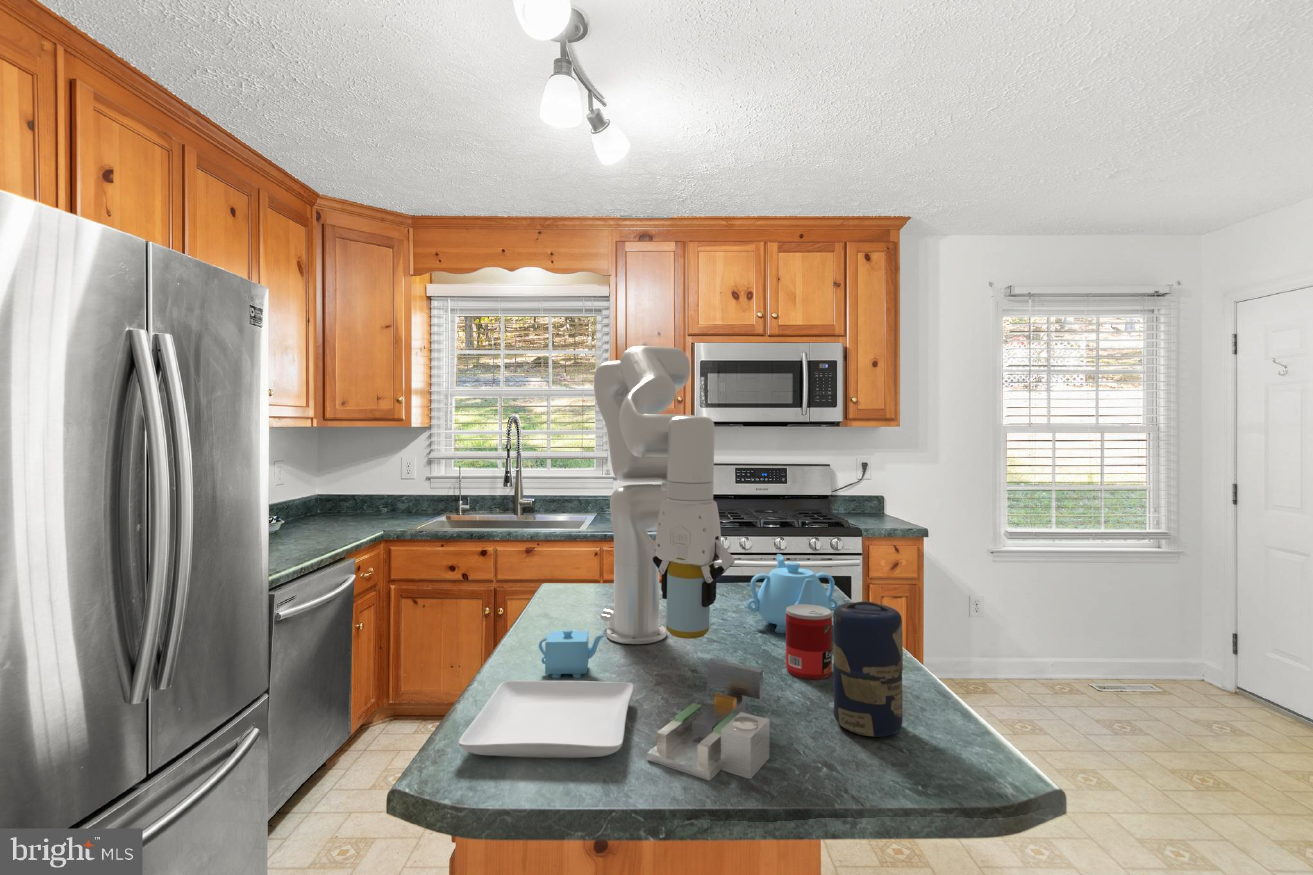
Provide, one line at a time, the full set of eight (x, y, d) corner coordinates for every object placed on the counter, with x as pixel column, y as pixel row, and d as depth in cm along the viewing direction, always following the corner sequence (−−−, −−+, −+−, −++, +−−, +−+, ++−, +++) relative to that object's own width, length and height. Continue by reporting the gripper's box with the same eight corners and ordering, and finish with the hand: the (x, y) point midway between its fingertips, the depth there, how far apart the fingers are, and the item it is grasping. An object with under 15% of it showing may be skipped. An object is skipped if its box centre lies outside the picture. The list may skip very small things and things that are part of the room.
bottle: (714, 628, 103) (717, 539, 102) (699, 642, 97) (702, 547, 96) (676, 622, 106) (678, 535, 105) (659, 635, 100) (661, 542, 99)
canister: (895, 749, 83) (895, 614, 83) (824, 731, 88) (824, 604, 88) (908, 721, 91) (908, 598, 91) (843, 706, 96) (843, 590, 96)
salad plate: (501, 699, 99) (501, 677, 99) (634, 701, 98) (634, 679, 98) (454, 770, 78) (454, 742, 78) (622, 773, 77) (622, 745, 77)
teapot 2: (778, 610, 149) (778, 552, 149) (853, 628, 135) (853, 564, 135) (736, 624, 138) (736, 561, 138) (812, 645, 124) (812, 575, 124)
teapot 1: (607, 665, 113) (607, 624, 113) (606, 678, 107) (606, 634, 107) (540, 666, 112) (540, 625, 112) (536, 679, 106) (536, 636, 106)
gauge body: (647, 760, 80) (647, 718, 80) (688, 727, 89) (688, 690, 89) (740, 791, 73) (740, 745, 73) (774, 752, 82) (774, 712, 82)
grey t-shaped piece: (675, 729, 85) (675, 681, 85) (710, 701, 94) (711, 658, 94) (730, 746, 80) (730, 695, 80) (762, 715, 89) (762, 669, 89)
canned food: (833, 681, 106) (833, 617, 106) (785, 677, 107) (785, 614, 107) (830, 665, 113) (830, 605, 113) (785, 662, 115) (785, 602, 115)
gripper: (632, 490, 102) (631, 597, 103) (728, 499, 93) (726, 617, 93) (657, 486, 108) (655, 587, 109) (748, 494, 99) (746, 604, 100)
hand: (688, 600), depth 101 cm, fingers closed on bottle, 6 cm apart
